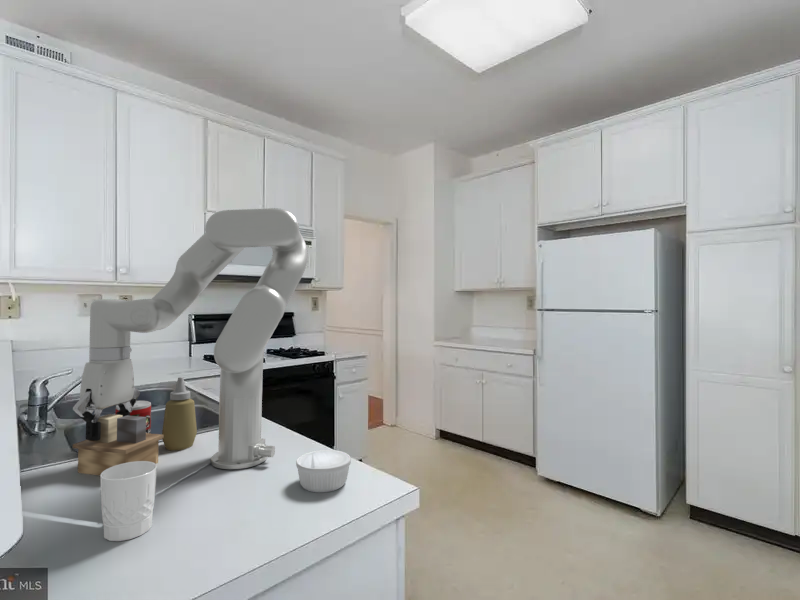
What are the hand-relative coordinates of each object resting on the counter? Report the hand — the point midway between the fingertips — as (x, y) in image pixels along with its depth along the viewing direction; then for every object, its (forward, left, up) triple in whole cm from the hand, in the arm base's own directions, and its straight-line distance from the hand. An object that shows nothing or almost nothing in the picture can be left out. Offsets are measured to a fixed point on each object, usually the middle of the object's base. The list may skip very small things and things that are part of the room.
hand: (108, 433), depth 95 cm
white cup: (-25, +20, -8) cm, 33 cm away
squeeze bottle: (-6, -15, -8) cm, 18 cm away
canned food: (+6, -13, -8) cm, 16 cm away
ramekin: (-49, -5, -8) cm, 50 cm away
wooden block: (0, 0, -7) cm, 7 cm away
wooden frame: (-3, 0, -2) cm, 3 cm away
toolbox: (-3, 0, -8) cm, 8 cm away
